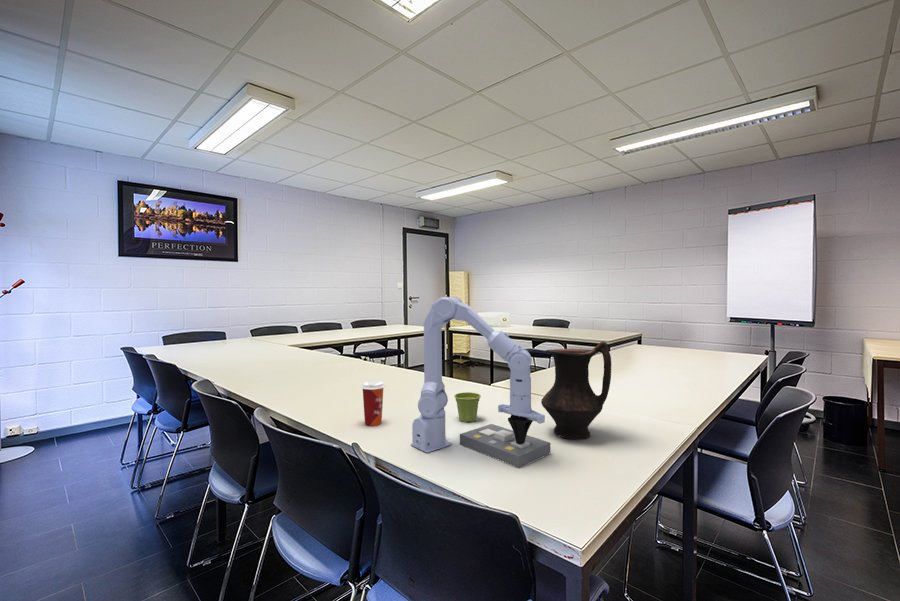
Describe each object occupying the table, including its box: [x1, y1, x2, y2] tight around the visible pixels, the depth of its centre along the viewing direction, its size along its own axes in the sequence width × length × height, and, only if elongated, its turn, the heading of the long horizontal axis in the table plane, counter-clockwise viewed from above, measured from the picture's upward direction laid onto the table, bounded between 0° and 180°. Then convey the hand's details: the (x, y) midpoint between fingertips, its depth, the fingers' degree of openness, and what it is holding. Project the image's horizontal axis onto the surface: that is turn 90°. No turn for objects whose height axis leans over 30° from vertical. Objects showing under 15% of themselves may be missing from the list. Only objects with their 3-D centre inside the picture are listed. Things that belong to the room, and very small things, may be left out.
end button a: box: [479, 429, 496, 437], centre depth 117 cm, size 4×4×3 cm
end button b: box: [510, 441, 531, 449], centre depth 108 cm, size 4×4×3 cm
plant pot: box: [453, 391, 482, 423], centre depth 139 cm, size 9×9×9 cm
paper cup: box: [361, 380, 385, 427], centre depth 135 cm, size 8×8×14 cm
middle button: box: [494, 430, 514, 443], centre depth 112 cm, size 4×4×3 cm
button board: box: [459, 423, 552, 469], centre depth 112 cm, size 14×22×3 cm, turn 42°
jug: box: [540, 340, 612, 440], centre depth 123 cm, size 21×18×30 cm
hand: (520, 443), depth 108 cm, fingers closed, pressing on end button b
